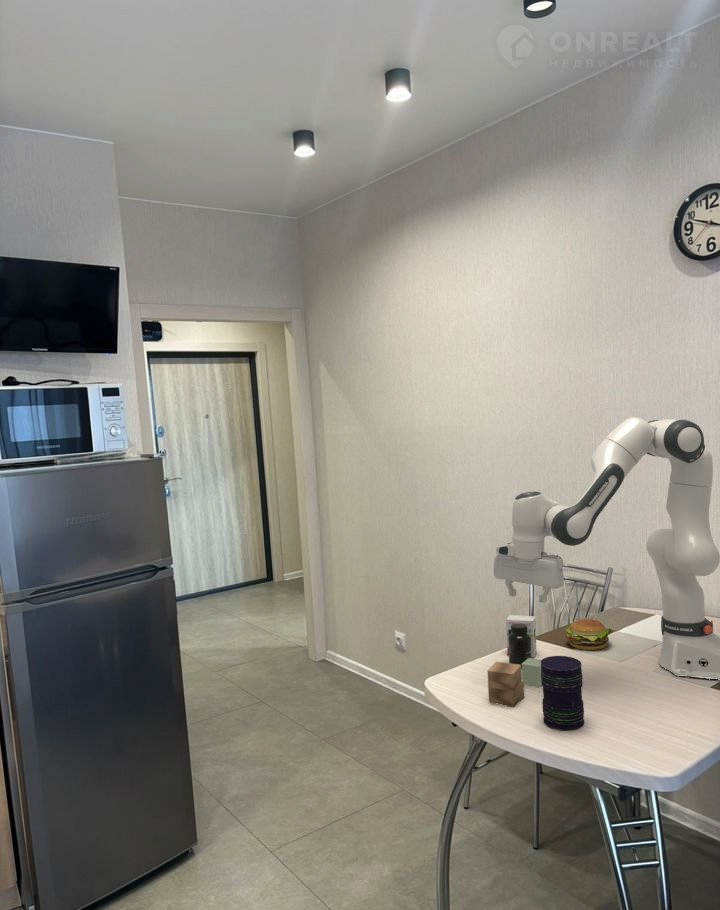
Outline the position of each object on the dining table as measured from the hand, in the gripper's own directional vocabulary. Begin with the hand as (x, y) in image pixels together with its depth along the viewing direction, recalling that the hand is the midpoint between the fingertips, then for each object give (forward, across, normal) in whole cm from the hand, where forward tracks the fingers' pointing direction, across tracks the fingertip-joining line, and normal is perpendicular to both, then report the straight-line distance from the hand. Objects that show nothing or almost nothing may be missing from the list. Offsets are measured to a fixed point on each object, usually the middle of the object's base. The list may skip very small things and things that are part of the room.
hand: (527, 598), depth 196 cm
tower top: (+20, -1, +13) cm, 24 cm away
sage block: (+24, -2, -1) cm, 24 cm away
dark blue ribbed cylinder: (+24, -19, +16) cm, 35 cm away
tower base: (+25, -1, +13) cm, 28 cm away
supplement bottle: (+24, +8, -12) cm, 28 cm away
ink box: (+24, +12, -19) cm, 33 cm away
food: (+23, -1, -38) cm, 44 cm away
